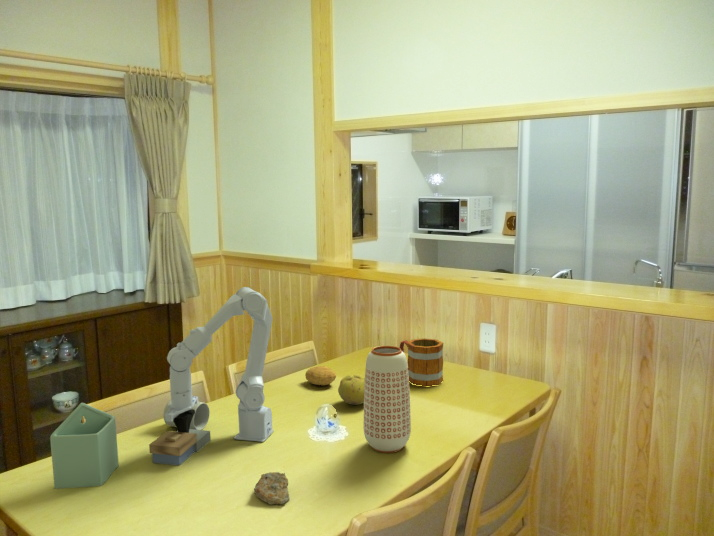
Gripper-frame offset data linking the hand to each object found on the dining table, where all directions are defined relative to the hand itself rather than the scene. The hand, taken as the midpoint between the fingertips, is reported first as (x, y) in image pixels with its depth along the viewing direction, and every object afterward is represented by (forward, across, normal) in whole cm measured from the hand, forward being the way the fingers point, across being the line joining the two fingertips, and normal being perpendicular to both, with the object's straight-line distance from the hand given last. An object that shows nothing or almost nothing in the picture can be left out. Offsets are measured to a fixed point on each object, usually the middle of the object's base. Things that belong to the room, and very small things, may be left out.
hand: (183, 436), depth 165 cm
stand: (+4, -2, 0) cm, 4 cm away
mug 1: (0, -16, -12) cm, 20 cm away
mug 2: (+4, -74, +57) cm, 93 cm away
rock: (+4, +18, +34) cm, 39 cm away
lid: (+1, +6, 0) cm, 6 cm away
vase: (+4, -14, +56) cm, 58 cm away
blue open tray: (+4, +6, 0) cm, 7 cm away
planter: (+4, +22, -13) cm, 25 cm away
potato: (+4, -60, +22) cm, 64 cm away
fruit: (+4, -44, +39) cm, 59 cm away
